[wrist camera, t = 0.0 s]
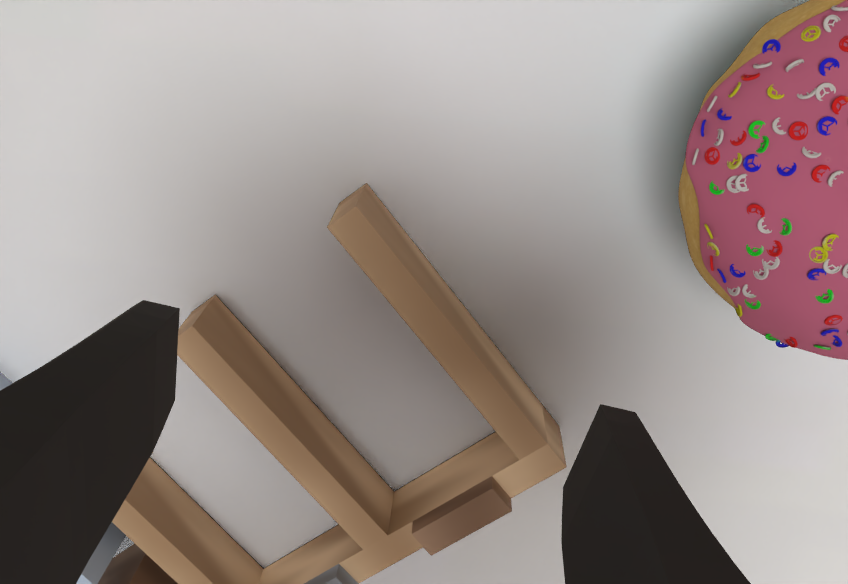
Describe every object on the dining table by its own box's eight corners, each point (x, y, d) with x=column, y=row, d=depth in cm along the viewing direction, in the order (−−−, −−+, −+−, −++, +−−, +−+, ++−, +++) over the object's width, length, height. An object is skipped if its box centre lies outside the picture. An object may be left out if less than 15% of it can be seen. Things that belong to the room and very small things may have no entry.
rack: (261, 598, 29) (240, 660, 27) (62, 407, 27) (18, 456, 24) (559, 426, 26) (568, 479, 23) (366, 183, 23) (352, 213, 20)
